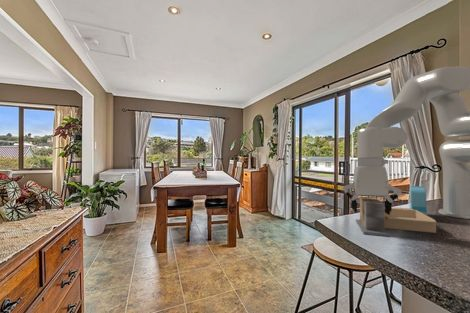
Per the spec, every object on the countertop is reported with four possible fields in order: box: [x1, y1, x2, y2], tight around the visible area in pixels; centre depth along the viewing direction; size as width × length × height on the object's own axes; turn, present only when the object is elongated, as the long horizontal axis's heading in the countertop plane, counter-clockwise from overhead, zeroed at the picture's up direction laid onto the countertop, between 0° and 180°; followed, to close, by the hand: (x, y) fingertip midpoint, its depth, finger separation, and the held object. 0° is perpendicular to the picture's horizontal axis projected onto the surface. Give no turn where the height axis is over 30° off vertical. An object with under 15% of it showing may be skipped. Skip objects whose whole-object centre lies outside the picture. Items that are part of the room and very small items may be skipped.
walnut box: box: [359, 196, 385, 232], centre depth 73 cm, size 5×10×9 cm, turn 159°
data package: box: [409, 185, 428, 216], centre depth 87 cm, size 12×4×12 cm, turn 141°
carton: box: [384, 206, 438, 234], centre depth 77 cm, size 14×18×4 cm
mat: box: [355, 218, 390, 238], centre depth 73 cm, size 7×14×1 cm, turn 159°
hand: (370, 212), depth 73 cm, fingers open, 9 cm apart
